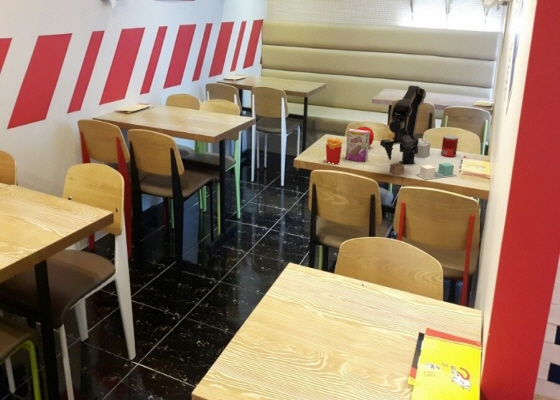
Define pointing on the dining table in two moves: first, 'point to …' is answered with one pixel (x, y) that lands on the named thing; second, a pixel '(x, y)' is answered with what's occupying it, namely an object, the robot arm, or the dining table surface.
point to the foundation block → (427, 171)
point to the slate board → (436, 176)
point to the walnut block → (396, 168)
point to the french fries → (333, 150)
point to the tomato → (370, 133)
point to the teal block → (446, 169)
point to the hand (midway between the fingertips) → (397, 159)
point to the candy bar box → (357, 145)
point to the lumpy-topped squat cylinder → (423, 148)
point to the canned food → (449, 145)
